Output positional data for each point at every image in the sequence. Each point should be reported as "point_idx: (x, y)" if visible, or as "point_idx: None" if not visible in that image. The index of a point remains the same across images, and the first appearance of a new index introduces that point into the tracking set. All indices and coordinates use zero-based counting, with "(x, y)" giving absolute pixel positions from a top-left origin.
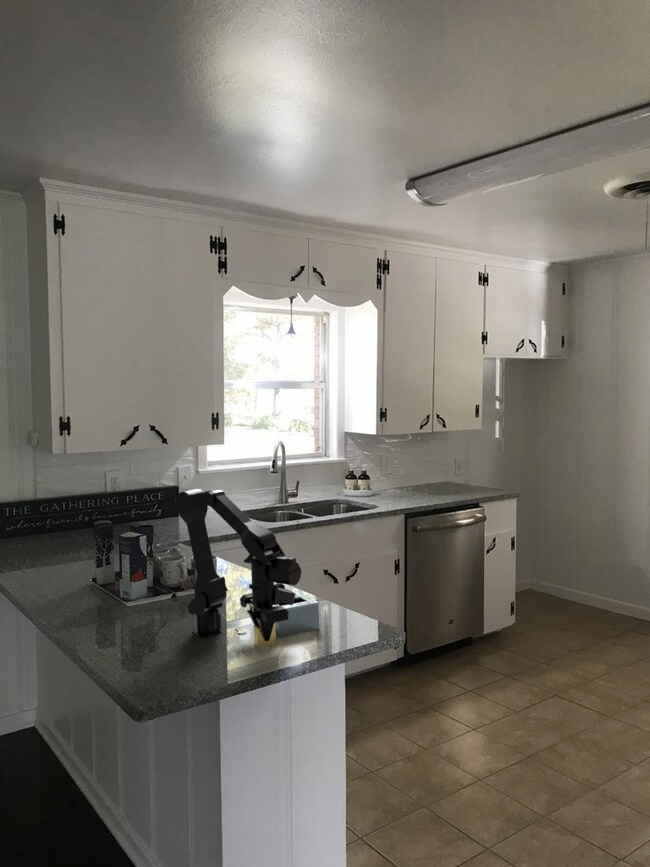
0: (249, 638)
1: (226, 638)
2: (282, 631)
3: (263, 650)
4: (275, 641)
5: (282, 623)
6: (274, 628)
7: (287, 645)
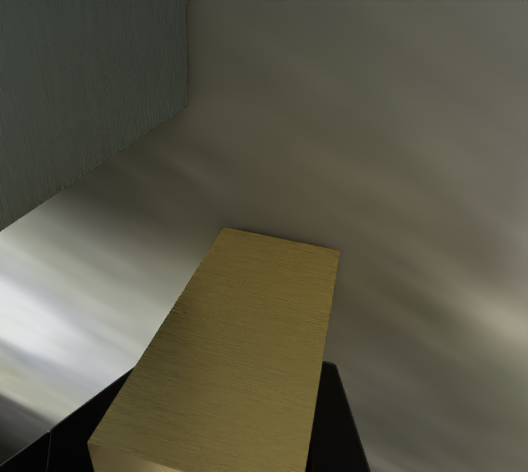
0: (58, 316)
1: (2, 397)
2: (151, 66)
3: (410, 414)
4: (337, 266)
5: (50, 95)
6: (309, 427)
7: (525, 183)
